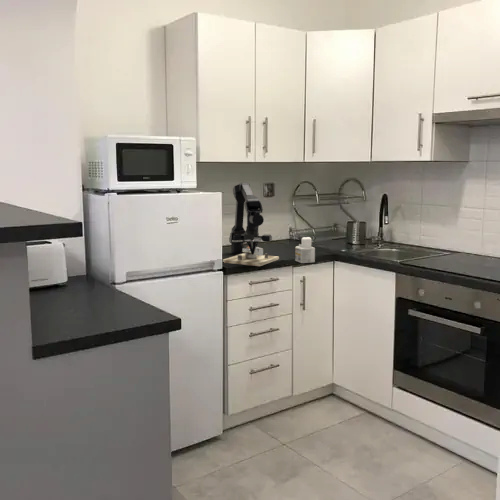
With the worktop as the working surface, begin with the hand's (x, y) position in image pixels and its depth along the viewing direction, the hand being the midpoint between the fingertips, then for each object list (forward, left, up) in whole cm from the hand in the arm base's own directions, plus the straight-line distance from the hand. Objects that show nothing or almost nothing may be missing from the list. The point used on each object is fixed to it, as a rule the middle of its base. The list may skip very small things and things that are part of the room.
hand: (252, 254), depth 281 cm
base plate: (-5, +8, -5) cm, 11 cm away
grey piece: (-3, +6, -1) cm, 7 cm away
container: (+21, +19, -5) cm, 29 cm away
